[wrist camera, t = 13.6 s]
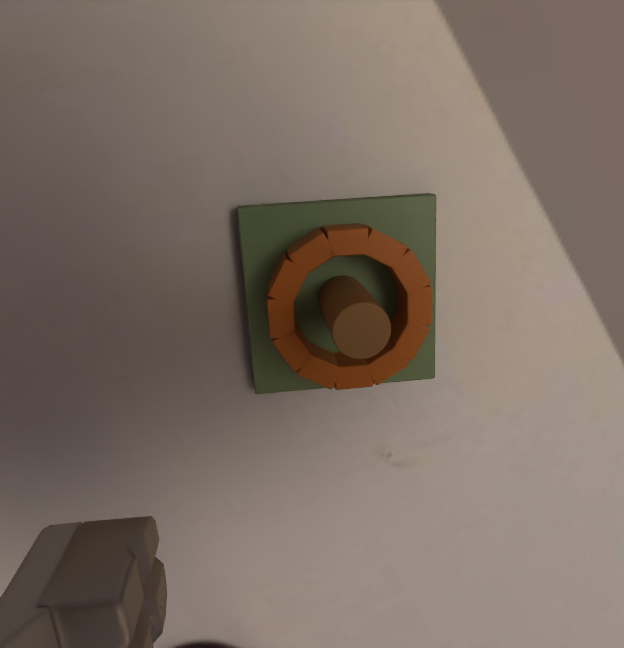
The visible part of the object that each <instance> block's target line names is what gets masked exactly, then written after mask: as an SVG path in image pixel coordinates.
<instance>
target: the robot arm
mask: <svg viewBox="0 0 624 648" xmlns="http://www.w3.org/2000/svg"><path fill="white" fill-rule="evenodd" d="M158 543H159V535H158V531H157V526H156V521H155V520H154V519H153V517H152V516H145V517H133V518H122V519H110V520H98V521H86V522H83V523H82V522H76V523H66V524H57V525H49V526H48V527H46V528H44V529H43V530H42V531H41V532H40V534H39V535H38V537H37V539H36V540H35V542H34V544H33V545H32V547H31V549H30V550H29V552H28V553H27V555H26V557H25V558H24V560H23V562H22V563H21V565H20V567H19V568H18V570H17V572H16V573H15V575H14V577H13V578H12V580H11V582H10V583H9V585H8V587H7V588H6V590H5V592H4V593H3V595H2V597H1V598H0V648H154V647H153V643H154V642H155V641H156V639H157V638H158V637H159V636H160V635H161V634H162V632H163V627H164V621H165V616H166V602H167V586H166V575H165V569H164V564H163V563H162V562H161V561H160V560H159V559H157V558H156V557H155V554H156V550H157V546H158Z"/></svg>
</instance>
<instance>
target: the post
mask: <svg viewBox="0 0 624 648" xmlns="http://www.w3.org/2000/svg"><path fill="white" fill-rule="evenodd" d="M237 216H238V226H239V236H240V247H241V257H242V267H243V277H244V288H245V298H246V308H247V319H248V329H249V339H250V349H251V360H252V370H253V380H254V390H255V394H263V393H274V392H286V391H297V390H308V389H320V388H326V387H324V386H322V385H319V384H317V383H315V382H313V381H310V380H308V379H306V378H303V377H301V376H299V375H297V370H296V371H293V370H292V369H291V368H290V366H289V365H288V364H287V362H286V361H285V360H284V358H283V357H282V355H281V354H280V353H279V351H278V350H277V349H276V347H275V346H274V345H273V343H272V338H270V332H269V321H268V310H267V290H268V283H269V281H270V279H271V277H272V275H273V273H274V271H275V269H276V267H277V264H278V262H279V260H280V258H281V256H282V254H283V253H284V252H285V253H287V254H288V252H287V248H288V247H290V246H291V245H293V244H294V243H296V242H297V241H299V240H300V239H301V238H303V237H304V236H306V235H307V234H309V233H310V232H312V231H313V230H315V229H316V228H319V229H320V230H321V231H322V226H325V225H339V224H353V223H360V224H362V225H364V224H366V225H368V226H370V227H372V228H374V229H376V230H378V231H379V232H381V233H383V234H385V235H387V236H389V237H391V238H393V239H395V240H397V241H399V242H401V243H403V244H405V245H406V246H407V248H409V249H410V250H412V252H413V253H414V255H415V257H416V258H417V260H418V262H419V263H420V265H421V267H422V268H423V270H424V271H425V273H426V275H427V276H428V278H429V280H430V283H429V285H430V286H432V324H431V325H427V326H428V327H429V328H430V330H429V332H428V334H427V336H426V337H425V339H424V341H423V343H422V344H421V346H420V348H419V350H418V351H417V353H416V355H415V357H414V358H413V360H412V361H409V360H407V359H406V360H407V362H408V363H409V365H408V366H406V367H405V368H403V369H402V370H400V371H399V372H397V373H395V374H394V375H392V376H391V377H389V378H388V379H386V380H385V381H383V382H381V383H387V382H398V381H410V380H421V379H432V378H434V377H435V274H436V195H435V194H430V193H428V194H412V195H397V196H382V197H367V198H352V199H336V200H321V201H306V202H291V203H275V204H260V205H245V206H238V208H237ZM293 305H294V319H295V323H296V324H297V326H298V327H299V329H300V330H301V331H302V333H303V334H304V336H305V337H306V338H307V340H308V341H309V342H311V343H313V344H315V345H317V346H320V347H322V348H324V349H326V350H329V351H331V352H333V353H339V352H341V353H343V354H344V355H346V356H348V357H350V358H354V359H366V358H370V357H372V356H374V355H376V354H378V353H379V352H380V351H381V350H382V349H383V348H384V347H385V346H386V344H387V343H388V340H389V338H390V334H391V324H390V323H391V322H392V320H393V318H394V316H395V314H396V312H397V285H396V282H395V281H394V279H393V278H392V276H391V274H390V273H389V271H388V270H387V268H386V266H385V265H384V264H382V263H380V262H378V261H376V260H374V259H372V258H370V257H368V256H366V255H351V256H337V257H332V258H331V259H329V260H328V261H326V262H325V263H323V264H322V265H320V266H319V267H317V268H316V269H314V270H313V271H311V272H310V273H308V274H307V275H306V277H305V279H304V281H303V283H302V285H301V287H300V289H299V291H298V293H297V295H296V297H295V299H294V301H293ZM373 384H375V382H374V381H373ZM333 387H334V386H333Z"/></svg>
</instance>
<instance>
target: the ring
mask: <svg viewBox="0 0 624 648" xmlns="http://www.w3.org/2000/svg"><path fill="white" fill-rule="evenodd" d="M287 252H288V254H287V253H285V252H284V253H283V254H282V256H281V258H280V260H279V262H278V264H277V267H276V269H275V271H274V273H273V275H272V277H271V279H270V281H269V283H268V290H267V310H268V321H269V332H270V338H272V343H273V345H274V346H275V347H276V349H277V350H278V351H279V353H280V354H281V355H282V357H283V358H284V360H285V361H286V362H287V364H288V365H289V366H290V368H291V369H292V370H293V371H296V370H297V375H299V376H301V377H303V378H306V379H308V380H310V381H313V382H315V383H317V384H319V385H322V386H324V387H326V388H329V389H332V388H333V386H334V387H335V389H337V390H339V389H350V388H361V387H371V386H373V381H374V382H375V384H376V385H378V384H380V383H381V382H383V381H385V380H386V379H388V378H389V377H391V376H392V375H394V374H395V373H397V372H399V371H400V370H402V369H403V368H405V367H406V366H408V365H409V363H408V362H407V360H409V361H412V360H413V358H414V357H415V355H416V353H417V351H418V350H419V348H420V346H421V344H422V343H423V341H424V339H425V337H426V336H427V334H428V332H429V330H430V328H429V327H428V326H427V325H431V324H432V286H430V285H429V283H430V280H429V278H428V276H427V275H426V273H425V271H424V270H423V268H422V267H421V265H420V263H419V262H418V260H417V258H416V257H415V255H414V253H413V252H412V250H410V249H409V248H407V246H406V245H405V244H403V243H401V242H399V241H397V240H395V239H393V238H391V237H389V236H387V235H385V234H383V233H381V232H379V231H378V230H376V229H374V228H372V227H370V226H368V225H366V224H364V225H362V224H360V223H353V224H339V225H325V226H322V231H321V230H320V229H319V228H316V229H315V230H313V231H312V232H310V233H309V234H307V235H306V236H304V237H303V238H301V239H300V240H299V241H297V242H296V243H294V244H293V245H291V246H290V247H288V248H287ZM351 255H366V256H368V257H370V258H372V259H374V260H376V261H378V262H380V263H382V264H384V265H385V266H386V268H387V270H388V271H389V273H390V274H391V276H392V278H393V279H394V281H395V282H396V285H397V312H396V314H395V316H394V318H393V320H392V322H391V323H390V324H391V334H390V338H389V340H388V343H387V344H386V346H385V347H384V348H383V349H382V350H381V351H380V352H379V353H378V354H376V355H374V356H372V357H370V358H366V359H354V358H350V357H348V356H346V355H344V354H343V353H341V352H339V353H333V352H331V351H329V350H326V349H324V348H322V347H320V346H317V345H315V344H313V343H311V342H309V341H308V340H307V338H306V337H305V336H304V334H303V333H302V331H301V330H300V329H299V327H298V326H297V324H296V323H295V319H294V305H293V301H294V299H295V297H296V295H297V293H298V291H299V289H300V287H301V285H302V283H303V281H304V279H305V277H306V275H307V274H308V273H310V272H311V271H313V270H314V269H316V268H317V267H319V266H320V265H322V264H323V263H325V262H326V261H328V260H329V259H331V258H332V257H337V256H351ZM406 359H407V360H406Z"/></svg>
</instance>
